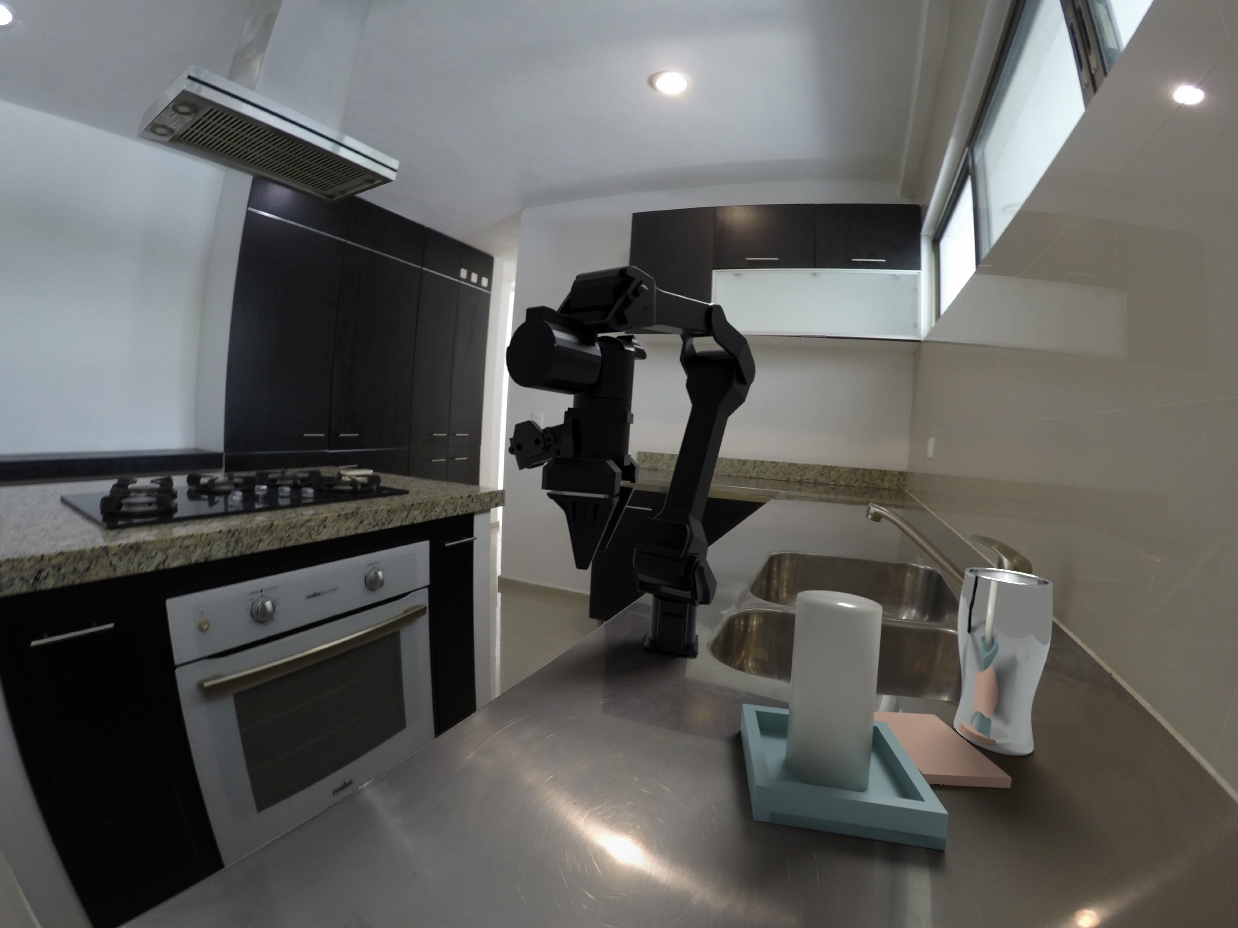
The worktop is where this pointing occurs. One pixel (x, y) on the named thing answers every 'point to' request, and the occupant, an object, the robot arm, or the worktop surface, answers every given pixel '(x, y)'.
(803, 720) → the frosted white cylinder
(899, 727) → the plate
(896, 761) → the tray
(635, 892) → the worktop surface
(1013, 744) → the beer glass
